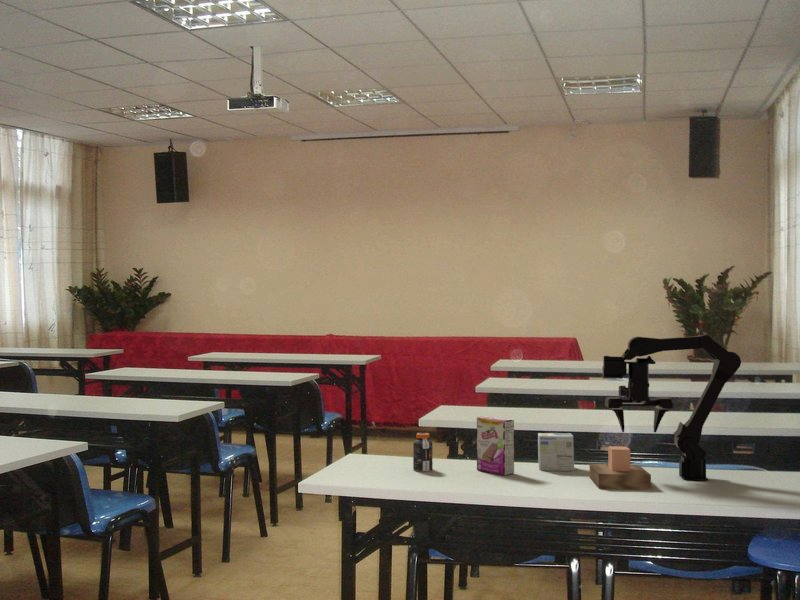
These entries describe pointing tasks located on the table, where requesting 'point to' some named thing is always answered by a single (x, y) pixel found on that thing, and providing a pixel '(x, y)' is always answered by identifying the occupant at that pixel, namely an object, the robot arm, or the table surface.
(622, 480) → the walnut plinth
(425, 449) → the pill bottle
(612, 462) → the terracotta block
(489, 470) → the candy bar box
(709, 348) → the robot arm
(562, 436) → the light bulb box
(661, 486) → the table surface
